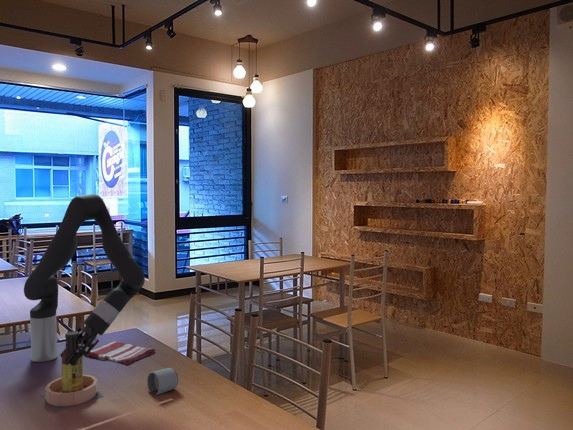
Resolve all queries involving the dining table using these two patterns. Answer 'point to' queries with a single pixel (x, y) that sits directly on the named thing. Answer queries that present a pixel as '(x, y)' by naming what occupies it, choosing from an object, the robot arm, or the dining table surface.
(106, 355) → the dish towel
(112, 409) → the dining table surface
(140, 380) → the dining table surface
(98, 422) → the dining table surface
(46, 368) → the dining table surface
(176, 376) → the ceramic mug
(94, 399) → the mat
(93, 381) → the bowl
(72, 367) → the sauce bottle
